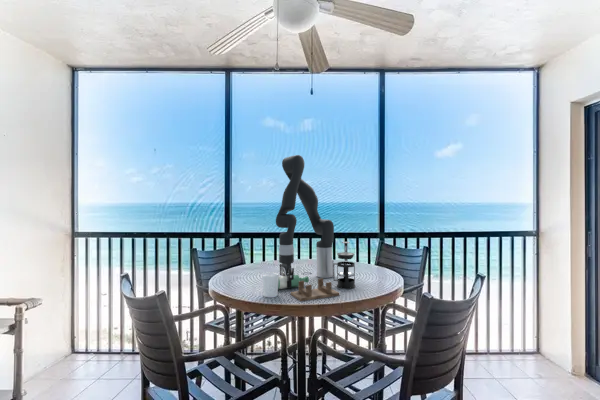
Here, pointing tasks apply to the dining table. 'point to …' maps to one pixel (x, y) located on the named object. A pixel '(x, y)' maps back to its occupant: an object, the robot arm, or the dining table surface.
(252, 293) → the dining table surface
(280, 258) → the robot arm
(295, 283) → the green bottle
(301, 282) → the bottle rest
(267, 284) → the white cup
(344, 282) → the french press
